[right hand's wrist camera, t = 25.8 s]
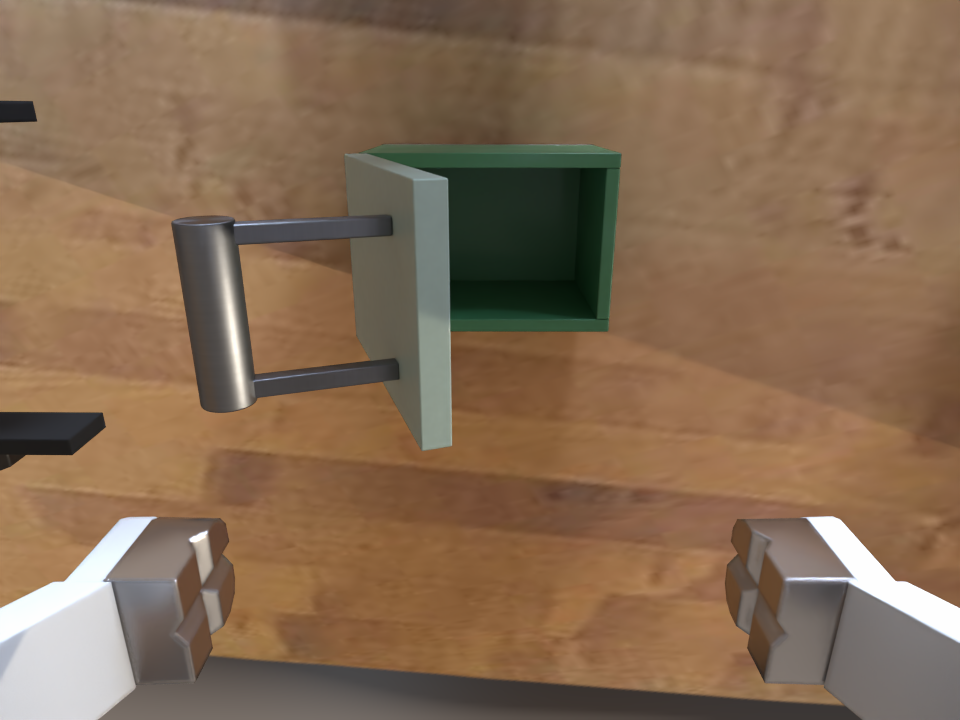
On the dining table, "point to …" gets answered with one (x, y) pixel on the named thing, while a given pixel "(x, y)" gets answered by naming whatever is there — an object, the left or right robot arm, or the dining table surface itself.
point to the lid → (376, 285)
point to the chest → (525, 232)
